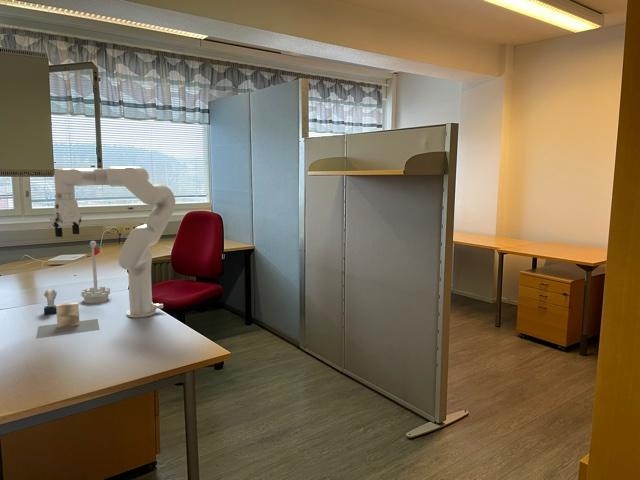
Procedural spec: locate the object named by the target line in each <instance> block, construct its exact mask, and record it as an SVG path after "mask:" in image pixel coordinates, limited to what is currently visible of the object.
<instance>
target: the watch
mask: <svg viewBox="0 0 640 480" xmlns="http://www.w3.org/2000/svg"><path fill="white" fill-rule="evenodd" d="M43 296H44V297H45V299H46V301H47V305H45V306H43V307H44V308H43V314H44V316H50V315H57V312H56V305H57V304H55V299H56V297H57V290H55V289H53V288H52V289H46V290H45V291H44V293H43Z"/></svg>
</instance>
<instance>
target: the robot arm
mask: <svg viewBox="0 0 640 480" xmlns="http://www.w3.org/2000/svg"><path fill="white" fill-rule="evenodd" d="M53 175H54V176H53V177H54V178H53V179H54V189H55V191H54V192H55V193H54V194H55V195H54V198H55V201H54V207H53V208H54V210H53V212H54V213H53V215H52V216H51V217H50V218H49V221H50V222H51V225H52V226H53V228H54V232H55V233H54V234H55V237H57V238H62V237H63V235H64V234H63V227H62V226H63V224H69V223H70V224H71V223H72V226H71V227H72V228H71V230H72V235H80V225H81V223H82V218H83V214H81V213H80V209H79V205H78V201H77V199H76V193H75V187H82V186H83V187H87V186H109V187H120V188H121V187H122V188H123V187H125V188H126V189H127V190H128V191H129V192H131V194H133V195H134V196H135V197H136V198H137V199H138V200H139V201H141V202H142V203H143V204H145V205H148V206H154V207H153V209H151V211H150V213H149V214H148V216H147V219H146V221H145V222H144V223H143V224H141V225H139V226H136V227H135V228H133V229H132V230H131V231H130V233H129V234H128V235H127V237H126V239H125V241H124V243H123V245H122V247H121V248H120V251H119V252H118V255H117V262H118V265H119V266H120V268H122V269H124V270H125V271H126V270H127V271H128V272H127V273H128V276H127V277H128V279H127V281H128V297H129V298H128V299H129V302H128V303H129V310H127V311H126V313H125V315H126V317H128V318H133V319H134V318H137V319H138V318H147V317H151V316H153V315H155V314H156V313H157V309H163V308H164V304H163V303H154V302H153V295H152V294H153V293H152V262H153V261H152V260H153V254H152V250H151V249H150V247H152V246H154V245H156V244H157V243H158V242H159V241H160V239H161V237H162V235H163V233H164V231H165V229H166V227H167V226H168V223H169V221H170V220H171V218H172V216H173V213H175V209H176V197H175V195H174V192H173V191H172V190H171V188H169V187H168V186H166V185H164V184H152V183H151V182H150V181H149V179H150V176H149V173H148V171H147V170H146V169H145V168H143V167H141V166H109V167H108V168H83V167H82V168H56V169H54V172H53Z"/></svg>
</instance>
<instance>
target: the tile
mask: <svg viewBox="0 0 640 480" xmlns="http://www.w3.org/2000/svg"><path fill="white" fill-rule="evenodd" d="M55 305H56V312H57V314H56V324H57V326H58V327H65V326H73V325H80V323H79V321H80V309H79V302H78V301H77V302H67V303H58V304H55Z"/></svg>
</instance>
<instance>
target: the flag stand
mask: <svg viewBox="0 0 640 480" xmlns="http://www.w3.org/2000/svg"><path fill="white" fill-rule="evenodd" d="M89 245H90V247H91V259H92V273H93V274H92V276H93V286H91V287H89V289H88V288H83V289H82V290H81V291H80V292H81V293H80V296H81V297H82V298H83V303H88V304H96V303H97V304H98V303H104V302H107V301H108V300H109V295H110V294H111V287H106V286H100V287H99V288H98V277H97V276H98V275H97V261H96V260H97V259H96V257H97V256H96V255H99V254H101V251H100V250H99V249H98V248H96V246H97V242H96V241H95V240H91V241H90V242H89Z"/></svg>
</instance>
